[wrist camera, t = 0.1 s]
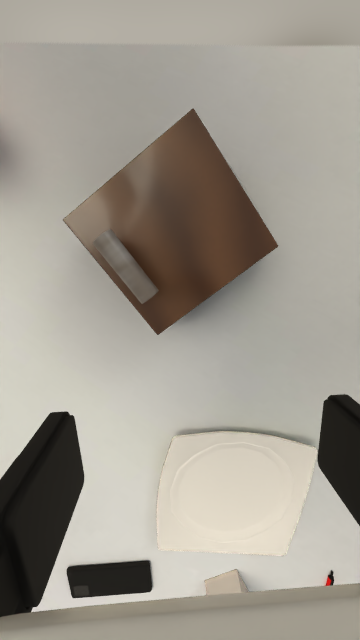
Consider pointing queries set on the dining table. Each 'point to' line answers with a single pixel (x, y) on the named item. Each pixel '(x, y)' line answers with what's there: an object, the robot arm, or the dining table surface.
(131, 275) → the lid
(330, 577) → the pen
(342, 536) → the dining table surface
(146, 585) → the smartphone
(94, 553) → the dining table surface
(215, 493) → the plate
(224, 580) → the soap dispenser
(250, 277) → the dining table surface
